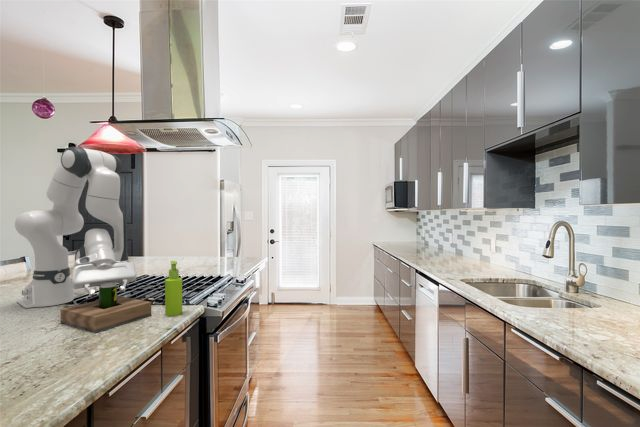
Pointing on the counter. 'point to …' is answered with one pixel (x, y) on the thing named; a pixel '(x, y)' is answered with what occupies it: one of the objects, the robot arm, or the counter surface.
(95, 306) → the socket board
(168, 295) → the soap dispenser
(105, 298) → the beer can
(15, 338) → the counter surface
